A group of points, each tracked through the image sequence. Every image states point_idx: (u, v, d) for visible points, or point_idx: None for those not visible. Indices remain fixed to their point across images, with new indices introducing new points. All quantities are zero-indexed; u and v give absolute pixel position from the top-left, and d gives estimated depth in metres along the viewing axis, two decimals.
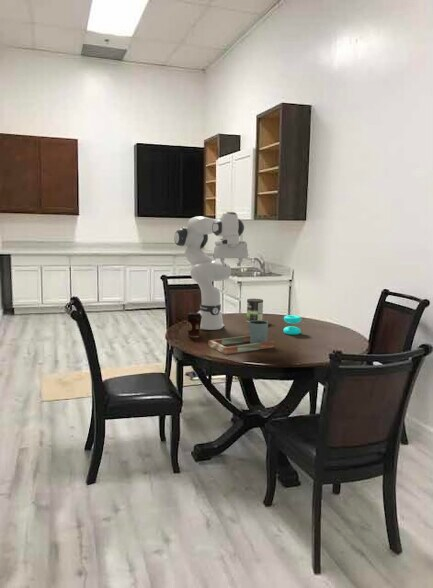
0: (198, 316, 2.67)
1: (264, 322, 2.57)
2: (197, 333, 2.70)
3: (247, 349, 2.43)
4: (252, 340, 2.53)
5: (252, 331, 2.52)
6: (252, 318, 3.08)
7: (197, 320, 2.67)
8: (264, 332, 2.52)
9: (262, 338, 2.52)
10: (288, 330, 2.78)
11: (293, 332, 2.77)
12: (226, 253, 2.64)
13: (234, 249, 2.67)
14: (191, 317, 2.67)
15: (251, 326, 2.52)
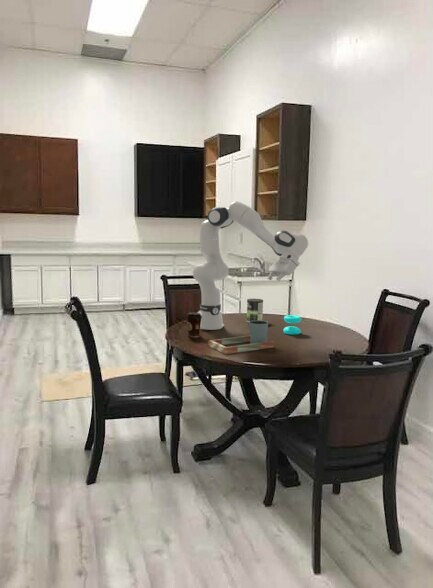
0: (198, 316, 2.67)
1: (264, 322, 2.57)
2: (197, 333, 2.70)
3: (247, 349, 2.43)
4: (252, 340, 2.53)
5: (252, 331, 2.52)
6: (252, 318, 3.08)
7: (197, 320, 2.67)
8: (264, 332, 2.52)
9: (262, 338, 2.52)
10: (288, 330, 2.78)
11: (293, 332, 2.77)
12: None
13: None
14: (191, 317, 2.67)
15: (251, 326, 2.52)
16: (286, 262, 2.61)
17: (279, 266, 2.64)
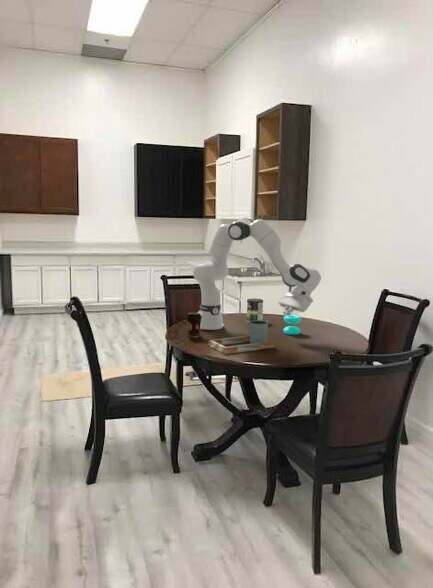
0: (198, 316, 2.67)
1: (264, 322, 2.57)
2: (197, 333, 2.70)
3: (247, 349, 2.43)
4: (252, 340, 2.53)
5: (252, 331, 2.52)
6: (252, 318, 3.08)
7: (197, 320, 2.67)
8: (264, 332, 2.52)
9: (262, 338, 2.52)
10: (288, 330, 2.78)
11: (293, 332, 2.77)
12: None
13: None
14: (191, 317, 2.67)
15: (251, 326, 2.52)
16: (300, 298, 2.60)
17: (291, 301, 2.63)
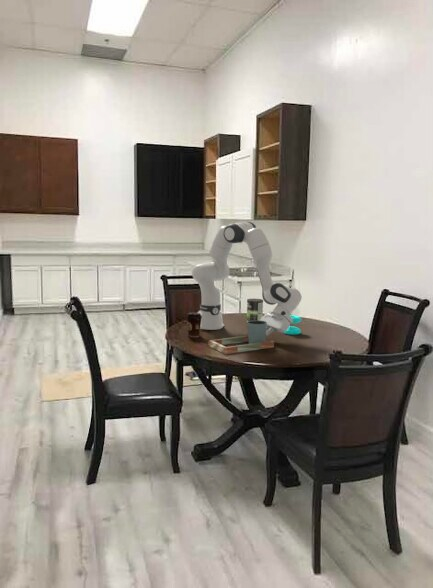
0: (198, 316, 2.67)
1: (263, 322, 2.57)
2: (197, 333, 2.70)
3: (247, 349, 2.43)
4: (250, 340, 2.53)
5: (250, 331, 2.51)
6: (252, 318, 3.08)
7: (197, 320, 2.67)
8: (262, 332, 2.51)
9: (260, 338, 2.51)
10: (288, 330, 2.78)
11: (293, 332, 2.77)
12: None
13: None
14: (191, 317, 2.67)
15: (249, 326, 2.51)
16: (279, 318, 2.55)
17: (271, 321, 2.59)
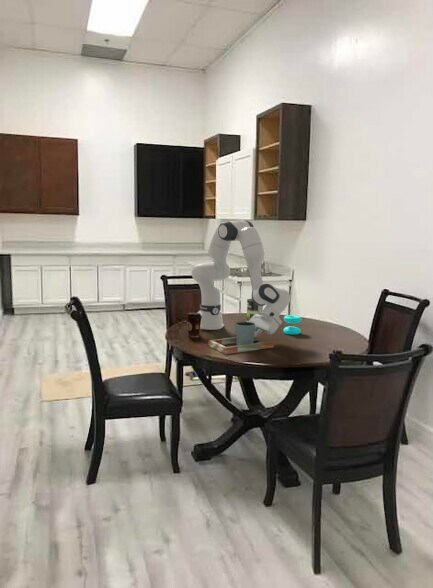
0: (198, 316, 2.67)
1: (251, 323, 2.53)
2: (197, 333, 2.70)
3: (247, 349, 2.43)
4: (238, 342, 2.49)
5: (238, 332, 2.48)
6: None
7: (197, 320, 2.67)
8: (250, 334, 2.47)
9: (248, 340, 2.47)
10: (288, 330, 2.78)
11: (293, 332, 2.77)
12: None
13: None
14: (191, 317, 2.67)
15: (237, 327, 2.48)
16: (268, 319, 2.52)
17: (260, 322, 2.55)
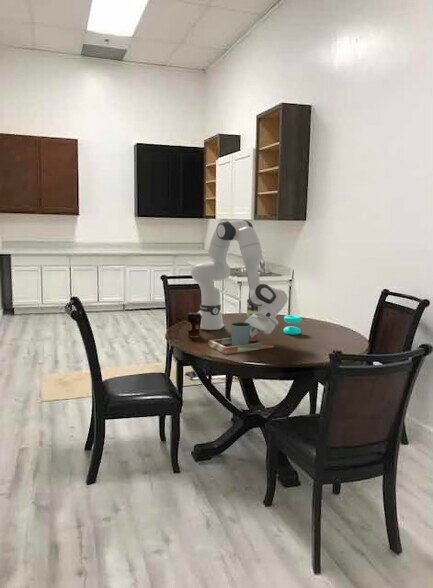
0: (198, 316, 2.67)
1: (247, 324, 2.52)
2: (197, 333, 2.70)
3: (247, 349, 2.43)
4: (233, 342, 2.48)
5: (233, 333, 2.47)
6: None
7: (197, 320, 2.67)
8: (245, 334, 2.46)
9: (243, 340, 2.46)
10: (288, 330, 2.78)
11: (293, 332, 2.77)
12: None
13: None
14: (191, 317, 2.67)
15: (232, 328, 2.47)
16: (265, 320, 2.50)
17: (257, 322, 2.54)
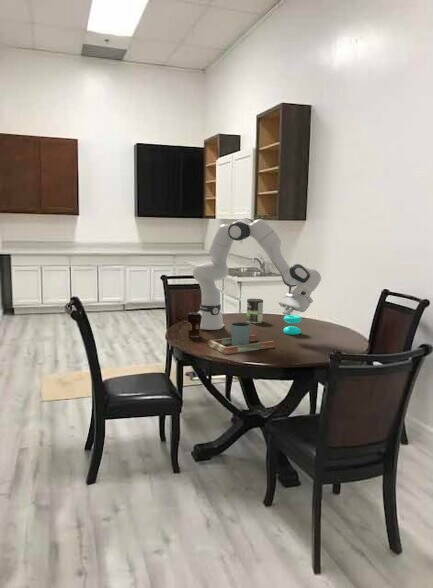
0: (198, 316, 2.67)
1: (247, 324, 2.52)
2: (197, 333, 2.70)
3: (247, 349, 2.43)
4: (233, 342, 2.48)
5: (233, 333, 2.47)
6: (252, 318, 3.08)
7: (197, 320, 2.67)
8: (245, 334, 2.46)
9: (243, 340, 2.46)
10: (288, 330, 2.78)
11: (293, 332, 2.77)
12: None
13: None
14: (191, 317, 2.67)
15: (232, 328, 2.47)
16: (300, 298, 2.60)
17: (291, 301, 2.63)
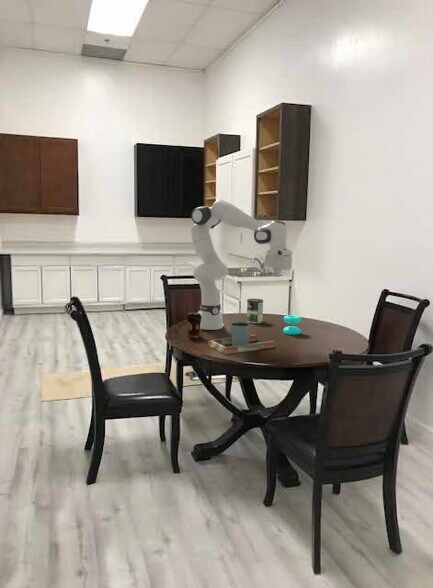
0: (198, 316, 2.67)
1: (247, 324, 2.52)
2: (197, 333, 2.70)
3: (247, 349, 2.43)
4: (233, 342, 2.48)
5: (233, 333, 2.47)
6: (252, 318, 3.08)
7: (197, 320, 2.67)
8: (245, 334, 2.46)
9: (243, 340, 2.46)
10: (288, 330, 2.78)
11: (293, 332, 2.77)
12: None
13: None
14: (191, 317, 2.67)
15: (232, 328, 2.47)
16: (280, 258, 2.60)
17: (274, 262, 2.64)
